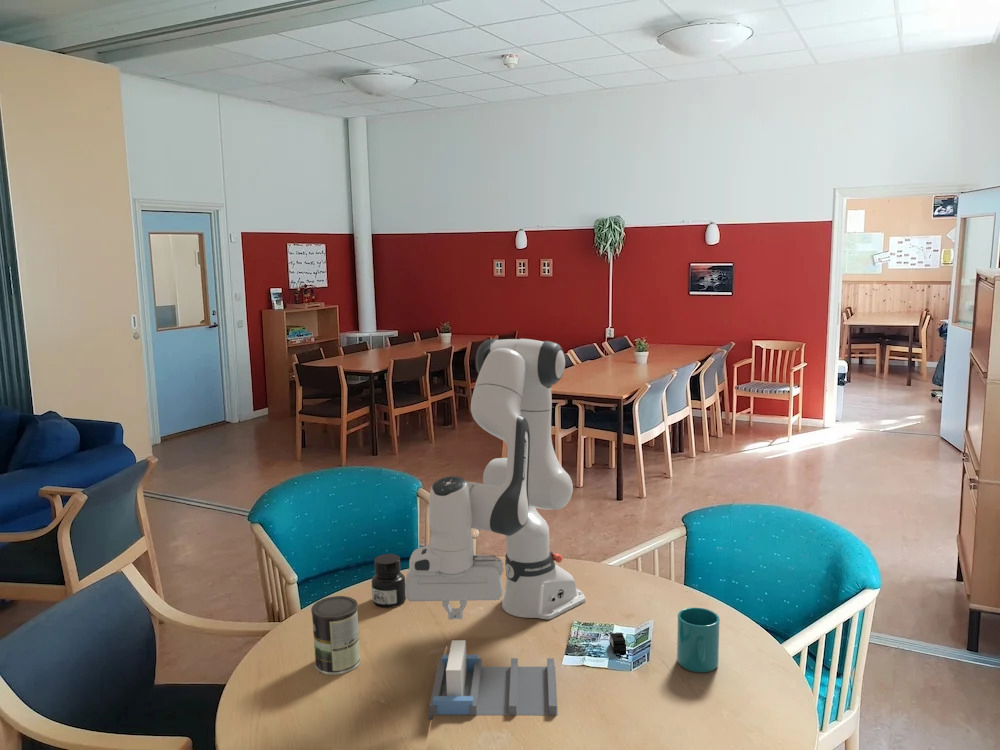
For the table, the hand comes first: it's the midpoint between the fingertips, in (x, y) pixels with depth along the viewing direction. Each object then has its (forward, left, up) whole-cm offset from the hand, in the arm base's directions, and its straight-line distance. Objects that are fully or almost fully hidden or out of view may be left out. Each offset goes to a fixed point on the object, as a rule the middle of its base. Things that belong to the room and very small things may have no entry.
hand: (455, 618), depth 163 cm
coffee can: (+17, -26, -17) cm, 36 cm away
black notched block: (-39, +7, -18) cm, 43 cm away
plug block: (0, 0, -16) cm, 16 cm away
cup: (-49, +22, -17) cm, 57 cm away
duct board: (-6, +5, -17) cm, 19 cm away
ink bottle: (-6, -48, -17) cm, 52 cm away
